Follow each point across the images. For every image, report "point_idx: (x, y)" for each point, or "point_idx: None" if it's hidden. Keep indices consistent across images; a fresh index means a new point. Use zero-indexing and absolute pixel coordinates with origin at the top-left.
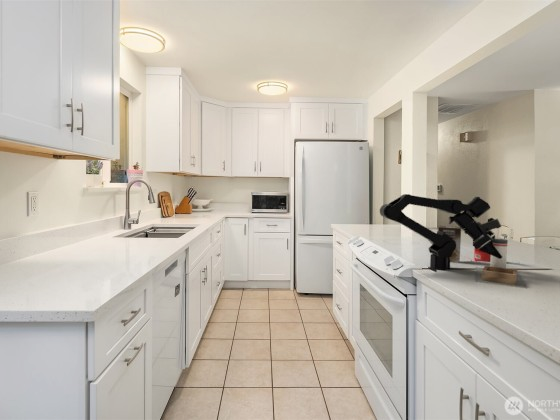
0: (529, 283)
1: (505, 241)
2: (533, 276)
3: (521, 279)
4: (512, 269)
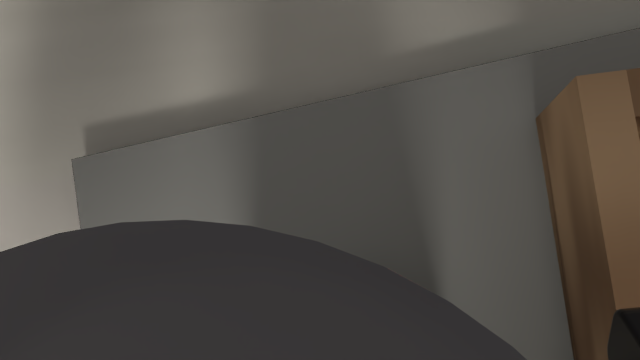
0: (507, 6)
1: (452, 306)
2: (99, 24)
3: (496, 73)
4: (631, 130)
